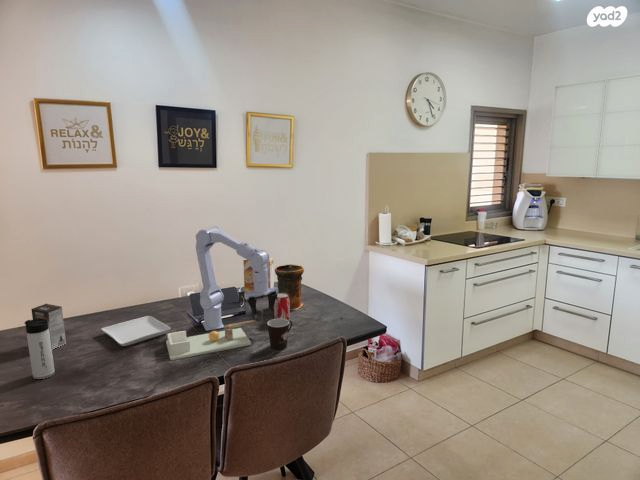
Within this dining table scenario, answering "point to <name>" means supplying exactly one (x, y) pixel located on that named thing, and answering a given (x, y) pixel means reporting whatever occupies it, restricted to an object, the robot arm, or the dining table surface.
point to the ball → (213, 335)
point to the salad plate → (136, 330)
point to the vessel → (290, 283)
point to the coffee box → (52, 322)
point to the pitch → (212, 344)
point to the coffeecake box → (250, 278)
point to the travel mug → (40, 348)
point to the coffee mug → (278, 333)
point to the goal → (178, 342)
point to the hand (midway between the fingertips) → (262, 312)
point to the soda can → (282, 306)
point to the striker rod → (243, 324)
